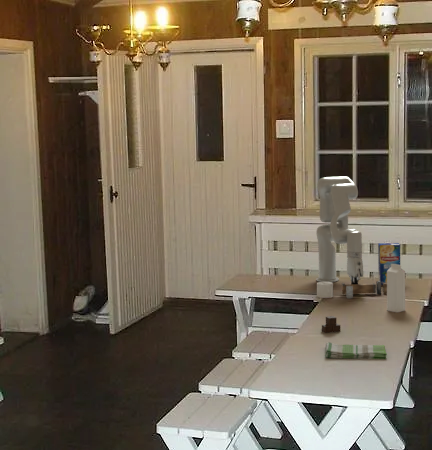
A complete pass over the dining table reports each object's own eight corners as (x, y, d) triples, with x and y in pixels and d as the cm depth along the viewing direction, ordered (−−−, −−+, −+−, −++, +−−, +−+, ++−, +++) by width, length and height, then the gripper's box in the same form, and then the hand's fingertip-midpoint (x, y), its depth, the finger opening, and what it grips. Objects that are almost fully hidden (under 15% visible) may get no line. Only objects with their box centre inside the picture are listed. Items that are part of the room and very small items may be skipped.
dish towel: (325, 348, 335) (325, 339, 334) (384, 348, 331) (384, 339, 331) (325, 360, 318) (324, 350, 317) (387, 360, 314) (387, 351, 314)
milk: (396, 312, 390) (396, 265, 388) (386, 310, 395) (386, 264, 392) (405, 310, 394) (405, 264, 391) (395, 308, 399) (395, 262, 396)
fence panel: (382, 292, 436) (382, 280, 435) (399, 291, 439) (399, 279, 438) (385, 293, 433) (385, 281, 433) (401, 292, 436) (401, 280, 435)
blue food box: (400, 284, 456) (400, 244, 454) (380, 285, 457) (379, 245, 454) (398, 282, 463) (398, 242, 460) (378, 282, 464) (378, 243, 461)
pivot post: (375, 293, 435) (375, 281, 434) (379, 293, 435) (379, 280, 435) (377, 294, 432) (377, 282, 432) (382, 294, 433) (381, 281, 432)
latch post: (346, 297, 427) (346, 286, 426) (350, 297, 427) (350, 285, 427) (348, 298, 424) (348, 286, 424) (352, 298, 425) (352, 286, 424)
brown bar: (342, 294, 431) (342, 284, 431) (341, 293, 434) (341, 283, 434) (375, 293, 432) (375, 282, 432) (374, 291, 435) (374, 281, 435)
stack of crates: (323, 339, 348) (323, 323, 348) (309, 331, 363) (309, 315, 362) (356, 336, 353) (356, 319, 352) (341, 328, 367) (341, 312, 366)
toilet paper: (327, 293, 440) (327, 280, 439) (335, 297, 429) (335, 283, 428) (312, 294, 438) (312, 281, 437) (320, 298, 427) (320, 285, 427)
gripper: (367, 256, 428) (368, 291, 431) (354, 252, 443) (354, 286, 445) (354, 257, 426) (354, 292, 428) (341, 253, 440) (341, 287, 443)
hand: (354, 289), depth 437 cm, fingers closed
